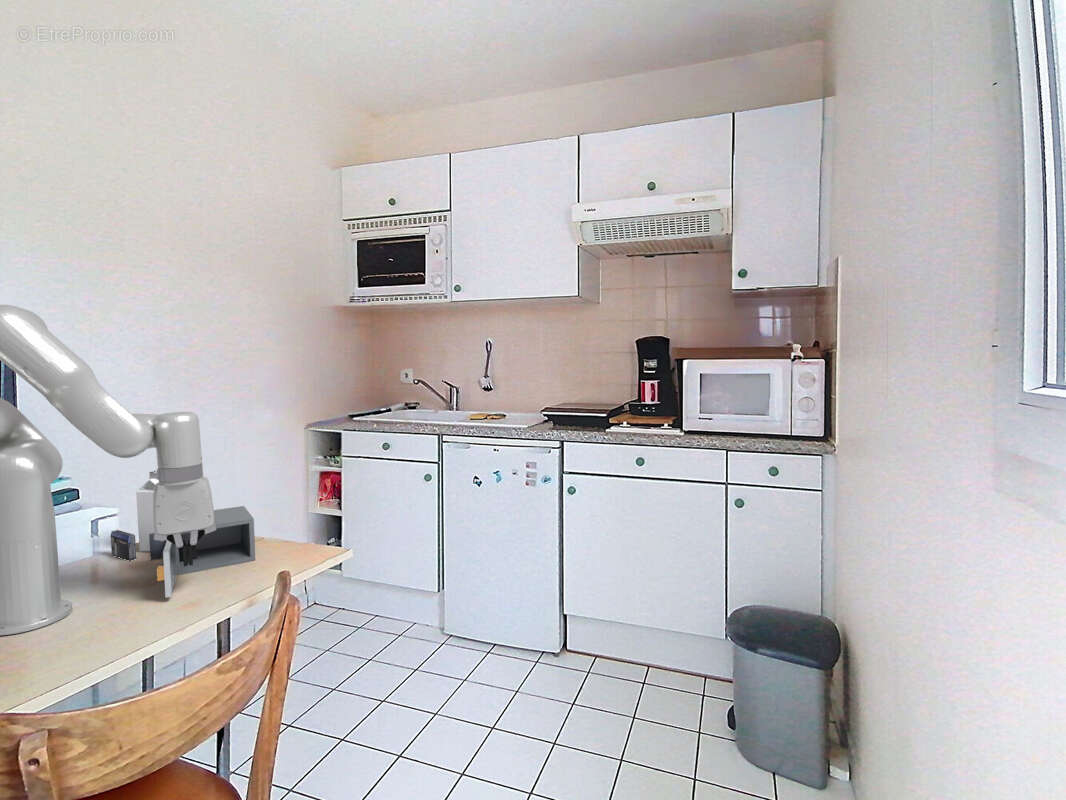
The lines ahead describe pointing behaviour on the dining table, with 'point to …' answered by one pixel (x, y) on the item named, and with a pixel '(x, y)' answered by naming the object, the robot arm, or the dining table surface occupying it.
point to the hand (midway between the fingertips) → (188, 563)
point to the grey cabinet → (217, 542)
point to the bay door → (168, 568)
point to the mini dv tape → (123, 545)
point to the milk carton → (145, 513)
